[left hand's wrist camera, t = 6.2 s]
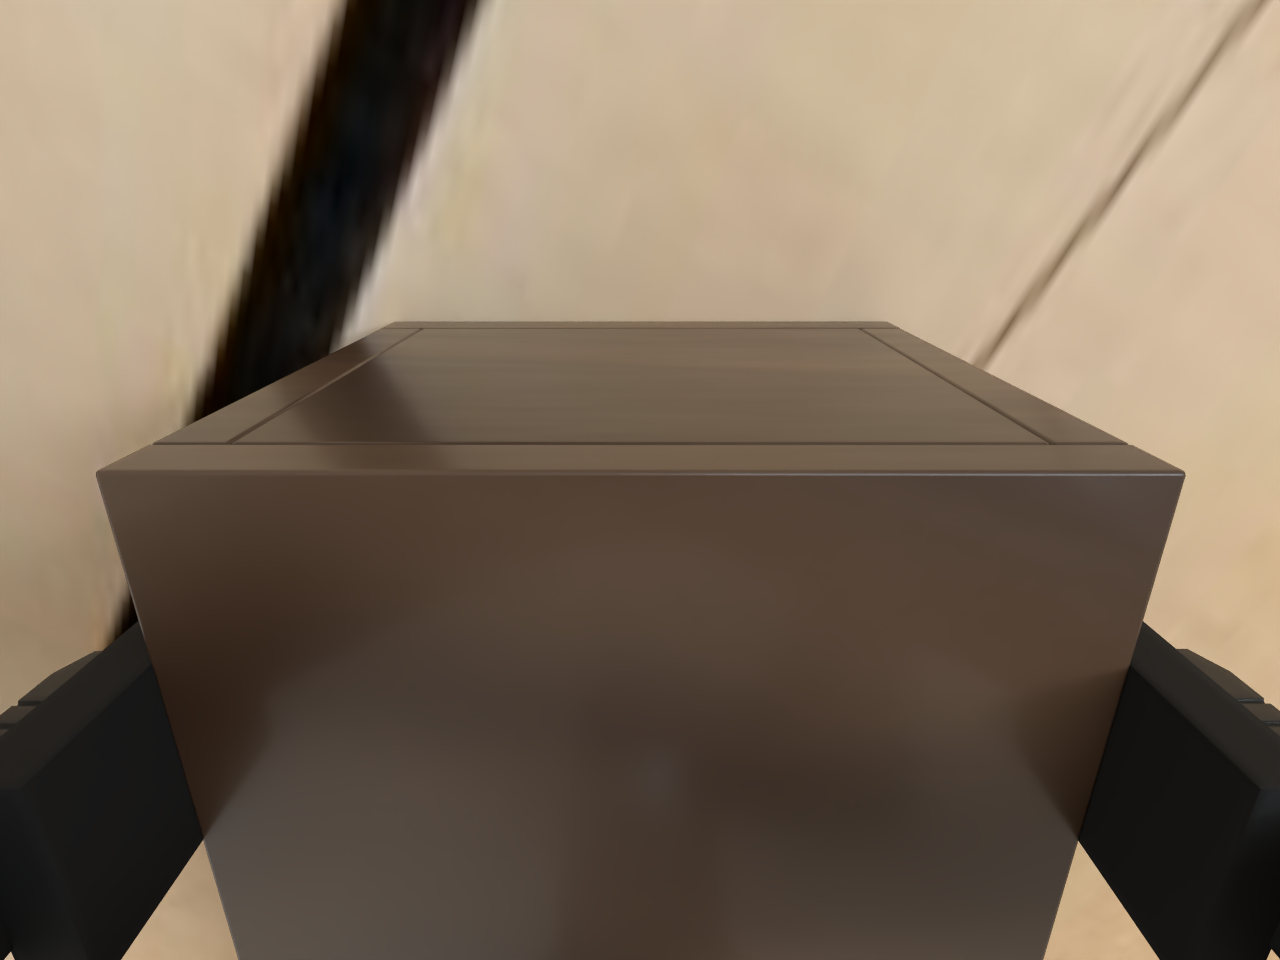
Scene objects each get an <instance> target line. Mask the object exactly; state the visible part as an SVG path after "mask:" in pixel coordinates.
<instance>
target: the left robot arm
mask: <svg viewBox="0 0 1280 960" xmlns="http://www.w3.org/2000/svg"><path fill="white" fill-rule="evenodd" d="M202 840H203V837H202V834H201V830H200V827H199V823H198V820H197V817H196V813H195V810H194V806H193V803H192V800H191V796H190V793H189V789H188V786H187V783H186V779H185V776H184V772H183V769H182V766H181V762H180V759H179V755H178V752H177V749H176V745H175V742H174V738H173V735H172V732H171V728H170V725H169V721H168V718H167V715H166V711H165V708H164V704H163V701H162V698H161V694H160V691H159V687H158V684H157V680H156V677H155V674H154V670H153V667H152V664H151V661H150V657H149V654H148V650H147V647H146V644H145V640H144V637H143V633H142V630H141V627H140V623H139V621H138V622H137V623H135V624H134V625H133V626H132V627H131V628H129V629H128V630H127V631H126V632H125V633H123V634H122V635H121V636H120V637H119V638H117V639H116V640H115V641H114V642H113V643H111V644H110V645H109V646H108V647H107V648H106V649H104V650H103V651H95V652H93V653H91V654H89V655H87V656H85V657H83V658H81V659H79V660H77V661H76V662H74V663H72V664H70V665H68V666H66V667H64V668H62V669H60V670H58V671H57V672H55V673H53V674H51V675H50V676H49V677H47V678H46V679H45V680H44V681H42V682H41V683H40V684H39V685H37V686H36V687H35V688H34V689H32V690H31V691H30V692H29V693H28V694H26V695H25V696H24V697H23V698H21V699H20V700H19V701H18V706H11V707H10V708H9V709H8V710H6V711H5V712H4V713H3V714H1V715H0V960H4V959H5V958H6V957H7V955H8V954H9V953H10V952H12V955H13V957H14V959H15V960H121V959H122V957H123V956H124V955H125V953H126V952H127V950H128V949H129V947H130V946H131V944H132V943H133V941H134V940H135V938H136V937H137V936H138V934H139V933H140V931H141V930H142V928H143V927H144V925H145V924H146V922H147V921H148V919H149V918H150V917H151V915H152V914H153V912H154V911H155V909H156V908H157V906H158V905H159V903H160V902H161V900H162V899H163V897H164V896H165V895H166V893H167V892H168V890H169V889H170V887H171V886H172V884H173V883H174V881H175V880H176V878H177V877H178V876H179V874H180V873H181V871H182V870H183V868H184V867H185V865H186V864H187V862H188V861H189V859H190V858H191V857H192V855H193V854H194V852H195V851H196V849H197V848H198V846H199V845H200V843H201V842H202ZM1078 841H1079V842H1080V844H1081V845H1082V847H1083V848H1084V850H1085V851H1086V852H1087V854H1088V855H1089V857H1090V858H1091V860H1092V861H1093V863H1094V864H1095V866H1096V867H1097V869H1098V870H1099V871H1100V873H1101V874H1102V876H1103V877H1104V879H1105V880H1106V882H1107V883H1108V885H1109V886H1110V888H1111V889H1112V890H1113V892H1114V893H1115V895H1116V896H1117V898H1118V899H1119V901H1120V902H1121V904H1122V905H1123V907H1124V908H1125V909H1126V911H1127V912H1128V914H1129V915H1130V917H1131V918H1132V920H1133V921H1134V923H1135V924H1136V926H1137V927H1138V928H1139V930H1140V931H1141V933H1142V934H1143V936H1144V937H1145V939H1146V940H1147V942H1148V943H1149V945H1150V946H1151V947H1152V949H1153V950H1154V952H1155V953H1156V955H1157V956H1158V958H1159V959H1160V960H1266V959H1267V957H1268V955H1269V953H1270V951H1271V949H1272V950H1273V951H1274V952H1275V954H1276V955H1277V956H1278V957H1279V958H1280V711H1279V710H1278V709H1276V708H1275V707H1274V706H1273V705H1271V704H1265V703H1264V698H1263V697H1261V696H1260V695H1259V694H1258V693H1256V692H1255V691H1254V690H1253V689H1251V688H1250V687H1249V686H1248V685H1246V684H1245V683H1244V682H1243V681H1241V680H1240V679H1239V678H1238V677H1236V676H1235V675H1234V674H1233V673H1231V672H1230V671H1228V670H1226V669H1224V668H1222V667H1221V666H1219V665H1217V664H1215V663H1213V662H1211V661H1209V660H1207V659H1205V658H1203V657H1201V656H1200V655H1198V654H1196V653H1194V652H1192V651H1190V650H1188V649H1175V648H1174V647H1173V646H1172V645H1171V644H1169V643H1168V642H1167V641H1166V640H1165V639H1163V638H1162V637H1161V636H1160V635H1159V634H1157V633H1156V632H1155V631H1154V630H1153V629H1151V628H1150V627H1149V626H1148V625H1147V624H1146V623H1144V622H1142V625H1141V628H1140V632H1139V635H1138V639H1137V642H1136V645H1135V649H1134V652H1133V656H1132V659H1131V662H1130V666H1129V669H1128V673H1127V676H1126V680H1125V683H1124V686H1123V690H1122V693H1121V697H1120V700H1119V703H1118V707H1117V710H1116V714H1115V717H1114V720H1113V724H1112V727H1111V731H1110V734H1109V737H1108V741H1107V744H1106V748H1105V751H1104V754H1103V758H1102V761H1101V765H1100V768H1099V771H1098V775H1097V778H1096V782H1095V785H1094V788H1093V792H1092V795H1091V799H1090V802H1089V805H1088V809H1087V812H1086V816H1085V819H1084V822H1083V826H1082V829H1081V833H1080V836H1079V839H1078Z"/></svg>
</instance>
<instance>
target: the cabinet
mask: <svg viewBox="0 0 1280 960" xmlns="http://www.w3.org/2000/svg"><path fill="white" fill-rule="evenodd" d="M96 477H97V481H98V484H99V487H100V491H101V494H102V498H103V501H104V504H105V508H106V511H107V515H108V518H109V521H110V525H111V528H112V532H113V535H114V538H115V542H116V545H117V549H118V552H119V555H120V559H121V562H122V566H123V569H124V572H125V576H126V579H127V583H128V586H129V589H130V593H131V596H132V600H133V603H134V606H135V610H136V613H137V616H138V620H139V623H140V627H141V630H142V633H143V637H144V640H145V644H146V647H147V650H148V654H149V657H150V661H151V664H152V667H153V670H154V674H155V677H156V680H157V684H158V687H159V691H160V694H161V698H162V701H163V704H164V708H165V711H166V715H167V718H168V721H169V725H170V728H171V732H172V735H173V738H174V742H175V745H176V749H177V752H178V755H179V759H180V762H181V766H182V769H183V772H184V776H185V779H186V783H187V786H188V789H189V793H190V796H191V800H192V803H193V806H194V810H195V813H196V817H197V820H198V823H199V827H200V830H201V834H202V837H203V841H204V844H205V847H206V851H207V854H208V858H209V861H210V864H211V868H212V871H213V875H214V878H215V881H216V885H217V888H218V892H219V895H220V898H221V902H222V905H223V909H224V912H225V915H226V919H227V922H228V925H229V929H230V932H231V936H232V939H233V942H234V946H235V949H236V953H237V956H238V959H239V960H1043V958H1044V955H1045V952H1046V948H1047V945H1048V941H1049V938H1050V935H1051V931H1052V928H1053V924H1054V921H1055V918H1056V914H1057V911H1058V907H1059V904H1060V901H1061V897H1062V894H1063V890H1064V887H1065V884H1066V880H1067V877H1068V873H1069V870H1070V867H1071V863H1072V860H1073V856H1074V853H1075V850H1076V846H1077V843H1078V839H1079V836H1080V833H1081V829H1082V826H1083V822H1084V819H1085V816H1086V812H1087V809H1088V805H1089V802H1090V799H1091V795H1092V792H1093V788H1094V785H1095V782H1096V778H1097V775H1098V771H1099V768H1100V765H1101V761H1102V758H1103V754H1104V751H1105V748H1106V744H1107V741H1108V737H1109V734H1110V731H1111V727H1112V724H1113V720H1114V717H1115V714H1116V710H1117V707H1118V703H1119V700H1120V697H1121V693H1122V690H1123V686H1124V683H1125V680H1126V676H1127V673H1128V669H1129V666H1130V662H1131V659H1132V656H1133V652H1134V649H1135V645H1136V642H1137V639H1138V635H1139V632H1140V628H1141V625H1142V622H1143V618H1144V615H1145V611H1146V608H1147V605H1148V601H1149V598H1150V594H1151V591H1152V588H1153V584H1154V581H1155V577H1156V574H1157V571H1158V567H1159V564H1160V560H1161V557H1162V554H1163V550H1164V547H1165V543H1166V540H1167V537H1168V533H1169V530H1170V526H1171V523H1172V520H1173V516H1174V513H1175V509H1176V506H1177V503H1178V499H1179V496H1180V492H1181V489H1182V486H1183V482H1184V479H1185V472H1184V471H1183V470H1181V469H1179V468H1177V467H1175V466H1173V465H1171V464H1169V463H1167V462H1165V461H1163V460H1161V459H1159V458H1157V457H1155V456H1153V455H1151V454H1149V453H1147V452H1145V451H1143V450H1141V449H1139V448H1137V447H1135V446H1133V445H1128V443H1126V442H1124V441H1122V440H1120V439H1118V438H1116V437H1114V436H1112V435H1110V434H1108V433H1106V432H1104V431H1102V430H1100V429H1098V428H1096V427H1094V426H1092V425H1090V424H1088V423H1086V422H1084V421H1082V420H1080V419H1078V418H1076V417H1074V416H1072V415H1070V414H1068V413H1067V412H1065V411H1063V410H1061V409H1059V408H1057V407H1055V406H1053V405H1051V404H1049V403H1047V402H1045V401H1043V400H1041V399H1039V398H1037V397H1035V396H1033V395H1031V394H1029V393H1027V392H1025V391H1023V390H1021V389H1019V388H1017V387H1015V386H1013V385H1011V384H1009V383H1007V382H1005V381H1003V380H1001V379H999V378H997V377H995V376H993V375H991V374H989V373H987V372H985V371H983V370H981V369H979V368H977V367H975V366H973V365H971V364H969V363H967V362H965V361H963V360H961V359H959V358H957V357H955V356H953V355H951V354H949V353H948V352H946V351H944V350H942V349H940V348H938V347H936V346H934V345H932V344H930V343H928V342H926V341H924V340H922V339H920V338H918V337H916V336H914V335H912V334H910V333H908V332H906V331H904V330H902V329H900V328H898V327H896V326H894V325H892V324H890V323H888V322H394V323H392V324H390V325H388V326H386V327H384V328H382V329H380V330H378V331H376V332H374V333H372V334H370V335H368V336H366V337H364V338H362V339H360V340H358V341H356V342H354V343H352V344H350V345H348V346H346V347H344V348H342V349H340V350H338V351H336V352H334V353H332V354H330V355H328V356H326V357H324V358H322V359H320V360H318V361H316V362H314V363H312V364H310V365H308V366H306V367H304V368H302V369H300V370H298V371H296V372H294V373H292V374H290V375H288V376H286V377H284V378H282V379H280V380H278V381H276V382H274V383H272V384H270V385H268V386H266V387H264V388H262V389H260V390H258V391H256V392H254V393H252V394H250V395H248V396H246V397H244V398H242V399H240V400H238V401H236V402H234V403H232V404H230V405H228V406H226V407H224V408H222V409H220V410H218V411H216V412H214V413H212V414H210V415H208V416H206V417H204V418H202V419H200V420H198V421H196V422H194V423H192V424H190V425H188V426H186V427H184V428H182V429H180V430H178V431H176V432H174V433H172V434H170V435H168V436H166V437H164V438H162V439H160V440H158V441H156V442H154V443H153V444H152V445H148V446H146V447H144V448H142V449H140V450H138V451H136V452H134V453H132V454H130V455H128V456H126V457H124V458H122V459H120V460H118V461H116V462H114V463H112V464H110V465H108V466H106V467H104V468H102V469H100V470H98V471H97V472H96Z"/></svg>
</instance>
